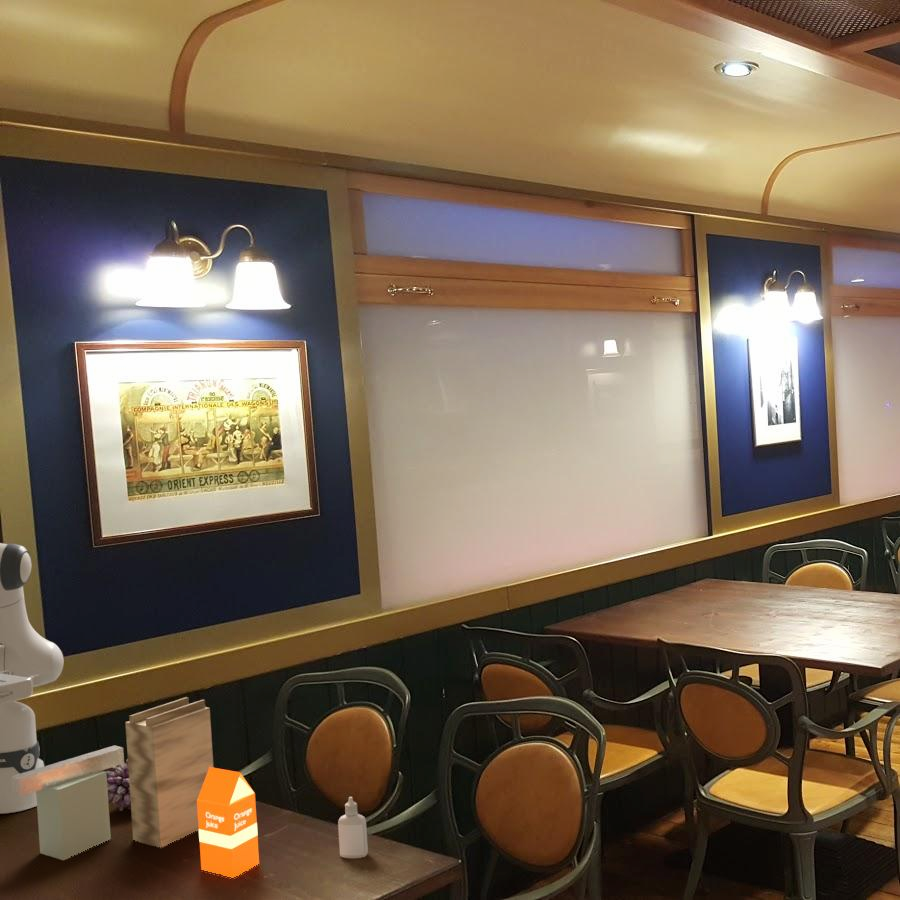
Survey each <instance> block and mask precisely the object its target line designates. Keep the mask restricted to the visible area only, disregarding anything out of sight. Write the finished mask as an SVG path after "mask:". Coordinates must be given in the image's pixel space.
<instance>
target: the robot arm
mask: <svg viewBox="0 0 900 900" xmlns="http://www.w3.org/2000/svg"><path fill="white" fill-rule="evenodd" d="M32 567H33V566H32V558H31V553H30V551H28V549H27V548H26V547H25V546H23V545H20V544H17V543H11V542H10V543H3V542H0V814H2V815H3V814H10V813H16V812H17V813H18V812H22V811H26V810H28V809H32V808H34V807H35V808H36V807H37V798H36V791H35V792H32V793H29V794H26V795H23V796H18V795H16V794H14V793H12V782H11V776H14V775H17V774H21V773H24V772H27V771H31V770H34V769H37V768H41V767H44V766H45V763H44V761H43V760H42V759H41V758H39V757H40V756H41V753H40V752H41V751H40V750H41V749H40V744H39V742H40V741H38V740H37V725H36V724H37V723H36V714H35V712H34V710H33V709H32V708H31V707H30V706H29V705H27V704H25V703H22V702H20V701H19V700H23V699H27V698H30V697H32V696H33V694H34V688H36V687H40V686H44V685H47V684H49V683H52V682H55V681H57V679H58V678H59V677H60V676H61V674H62V672H63V669H64V663H65V662H64V661H65V659H64V654H63V651H62V650H61V649H60V647H59V646H58V645H57V644H56V643H54V642H53V641H50V640H48V639H46V638H45V637H43V636H42V635H40V633H38V632H37V631H36V630H35V629H34V627H33V626H32V625H31V623H30V620H29V617H28V612H27V608H26V601H25V592H24V591H25V590H24V586H25V584H27V583H28V581H29V580H30V577H31V572H32Z"/></svg>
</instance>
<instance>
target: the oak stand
mask: <svg viewBox="0 0 900 900" xmlns="http://www.w3.org/2000/svg"><path fill="white" fill-rule="evenodd" d="M189 700H190V699H189V697H187V696H185V697H182V698H179V699H176V700H174V701H170V702H167V703H164V704H160V705H157V706H155V707H152V708H148V709H145V710H143V711H139V712H136V713H134V714H131V715H128V717H129V718H128V719H129V721H125V737H126V748H127V749H126V750H127V759H128V769H129V784H130V799H131V809H130V810H131V811H130V813H131V825H132V826H131V827H132V840H135V841H134V842H137V841H138V843H141V844H145V845H148V846H152V847H155V846H156V848H159V847H160V848H159V849H162V848H165V847H166V846H168V844H169V845H170V843H171V844H172V842H173V843H175V842H177V841H179V840H181V839H183V838H185V836H186V837H187V835H188V836H190V835H192V834H194V833H196V832H199V824H198V808H197V799H198V797H199V794H200V792H201V789H202V786H203V784H204V781H205V778H206V775H207V773H208V770H209V767H213V768H214V756H213V754H214V753H213V740H212V727H211V726H212V723H211V722H212V721H211V710H210V709H211V708H210V707H207V706H206V699H200V700H197V701H193V702H192V703H190V702H189ZM195 831H196V832H195ZM193 832H194V833H193ZM191 833H192V834H191ZM189 834H190V835H189ZM180 838H181V839H180ZM176 840H177V841H176ZM174 841H175V842H174ZM161 847H162V848H161Z"/></svg>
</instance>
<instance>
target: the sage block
mask: <svg viewBox="0 0 900 900" xmlns="http://www.w3.org/2000/svg"><path fill="white" fill-rule="evenodd" d="M106 773H107V771H104V770H102V771H98V772H95V773H92V774H89V775H86V776H83V777H80V778H76V779H73V780H70V781H67V782H64V783H61V784H57V785H54V786H51V787H48V788H45V789H42V790H39V791H36V798H37V806H36V811H37V824H38V839H39V840H38V841H39V853H40V854H41V855H45V856H48V857H52V858H55V859H58V860H60V861H65V860H68V859H71V858H72V857H74V855H75V856H77V855H79V854H81V852H82V853H83V851H84V852H86V851H88V850H90V849H89V848H91V849H93V848H94V847H93V846H95V847H97V846H100V845H102V844H104V843H106V842H105V841H107V842H108V840H109V841H111V840H112V837H111V836H112V835H111V834H112V833H111V822H110V809H109V804H110V803H109V804H108V799H109V797H108V795H109V794H108V793H109V792H108V789H107V785H108V783H107V779H108V778H107V777H108V775H107V774H106ZM110 839H111V840H110ZM103 842H104V843H103ZM101 843H102V844H101ZM99 844H100V845H99ZM96 845H97V846H96ZM92 847H93V848H92ZM87 849H88V850H87ZM85 850H86V851H85ZM78 853H79V854H78ZM71 856H72V857H71Z"/></svg>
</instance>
